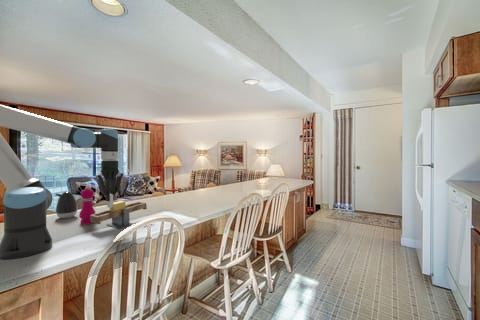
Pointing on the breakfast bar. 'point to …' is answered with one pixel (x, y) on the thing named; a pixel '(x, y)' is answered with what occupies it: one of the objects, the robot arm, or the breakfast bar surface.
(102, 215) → the beam
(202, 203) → the breakfast bar surface
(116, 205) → the block
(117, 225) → the fulcrum
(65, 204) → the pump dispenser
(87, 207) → the magenta figurine
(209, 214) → the breakfast bar surface
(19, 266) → the breakfast bar surface
